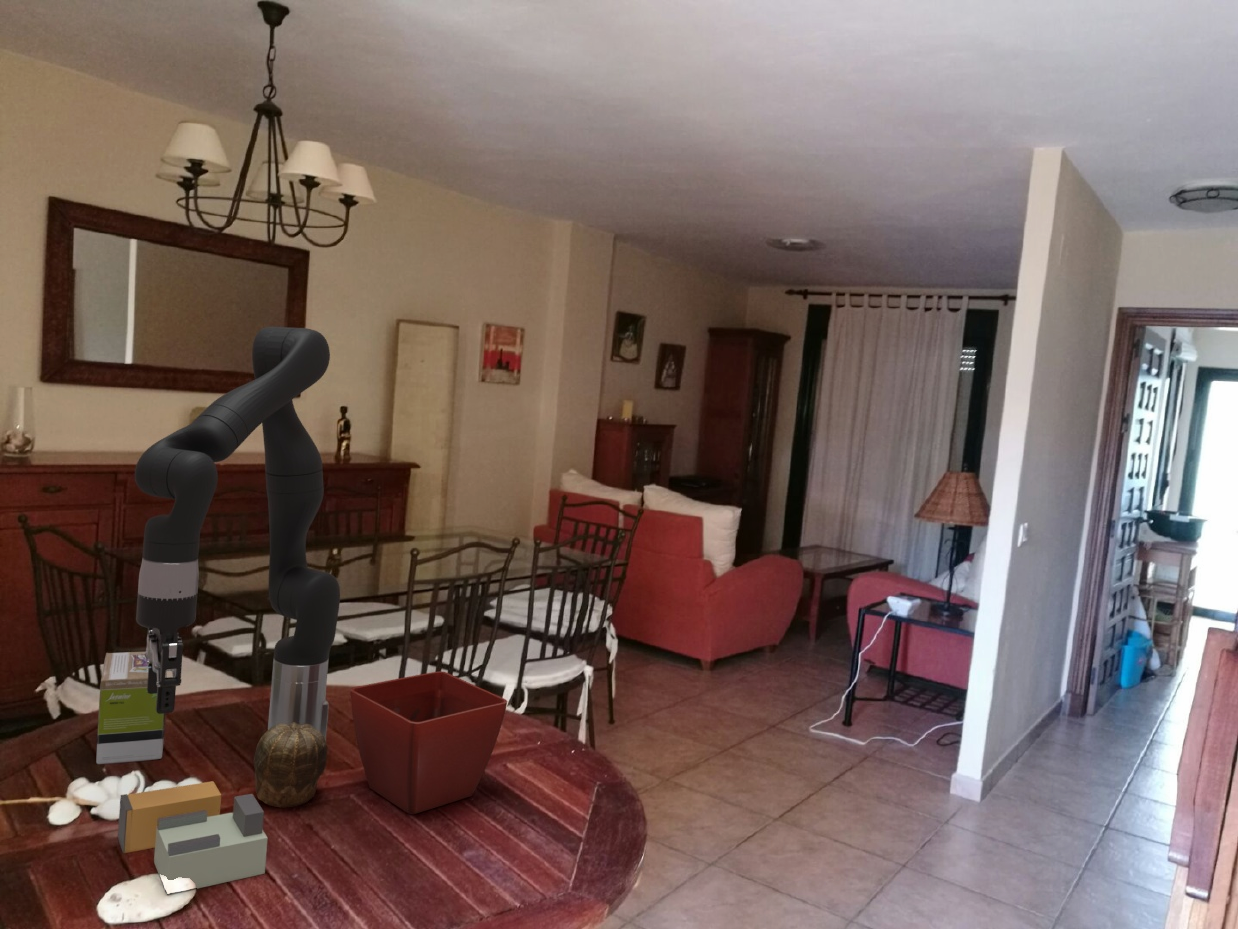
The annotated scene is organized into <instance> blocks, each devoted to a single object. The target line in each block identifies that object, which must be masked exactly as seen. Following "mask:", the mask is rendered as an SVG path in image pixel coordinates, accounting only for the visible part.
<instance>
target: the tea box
mask: <svg viewBox="0 0 1238 929" xmlns="http://www.w3.org/2000/svg"><path fill="white" fill-rule="evenodd" d="M145 653H146V651H131V652H130V651H128V652H127V651H126V652H125V651H124V652H106V653H105V657H104V663H103V669H102V674H101V678H100V685H99V701H98V720H97V736H96V737H97V740H96V761H95V762H96V764H97V765H105V764H106V765H108V764H120V763H129V762H130V763H131V762H132V763H133V762H142V761H152V760H153V761H155V760H159V759H162V758H163V749H164V737H165V726H166V713H164V714H158V713H157V711H156V700H157V693H156V694H149V693H148V691H147V682H148V668H151V667H148V666H147V660H148V659H146V657H145ZM167 673H168V671H166V675H165V678H168V677H167V675H168V674H167Z"/></svg>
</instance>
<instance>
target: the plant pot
mask: <svg viewBox="0 0 1238 929" xmlns="http://www.w3.org/2000/svg"><path fill="white" fill-rule="evenodd" d="M349 692H350V704H351V713H352V721H353V728H354V732H355V738H356V743H357V747H358V752H359V756H360V760H361V764H362V767H363V770H364V774H365V778H366V780H367V784H368V786H369V789H370V790H372V791H373V792H375V793H376V794H378V795H380V796H381V797H382V798H384V799H385V800H386V801H388V802H390V803H392V804H393V805H394V806H396V807H398V808H399V809H401V810H402V811H403V812H405V813H407V814H409V815H416V814H419V813H423V812H426V811H428V810H432V809H434V808H438V807H442V806H445V805H447V804H451V803H454V802H457V801H461V800H463V799H467V798H470V797H472V796H473V795H474V793H475V791H476V789H477V787H478V786H479V783H480V781H481V779H482V777H483V775H484V773H485V770H486V768H487V766H488V763H489V761H490V759H491V756H492V753H493V751H494V749H495V746H496V743H497V740H498V737H499V734H500V731H501V727H502V725H503V724H502V723H503V721H504V717H505V714H506V709H507V706H508V700H507V699H506V698H504V697H502V696H499V695H497V694H494V693H492V692H490V691H488V690H486V689H483V688H482V687H478V686H477V685H475V684H473V683H470V682H469V681H466V680H464V679H461V678H460V677H457V676H455V675H453V674H451V673H448V672H446V671H442V670H441V671H431V672H427V673H422V674H416V675H411V676H406V677H405V676H404V677H400V678H395V679H389V680H385V681H384V680H383V681H379V682H373V683H369V684H363V685H357V686H354V687H351V688H350V691H349Z"/></svg>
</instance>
